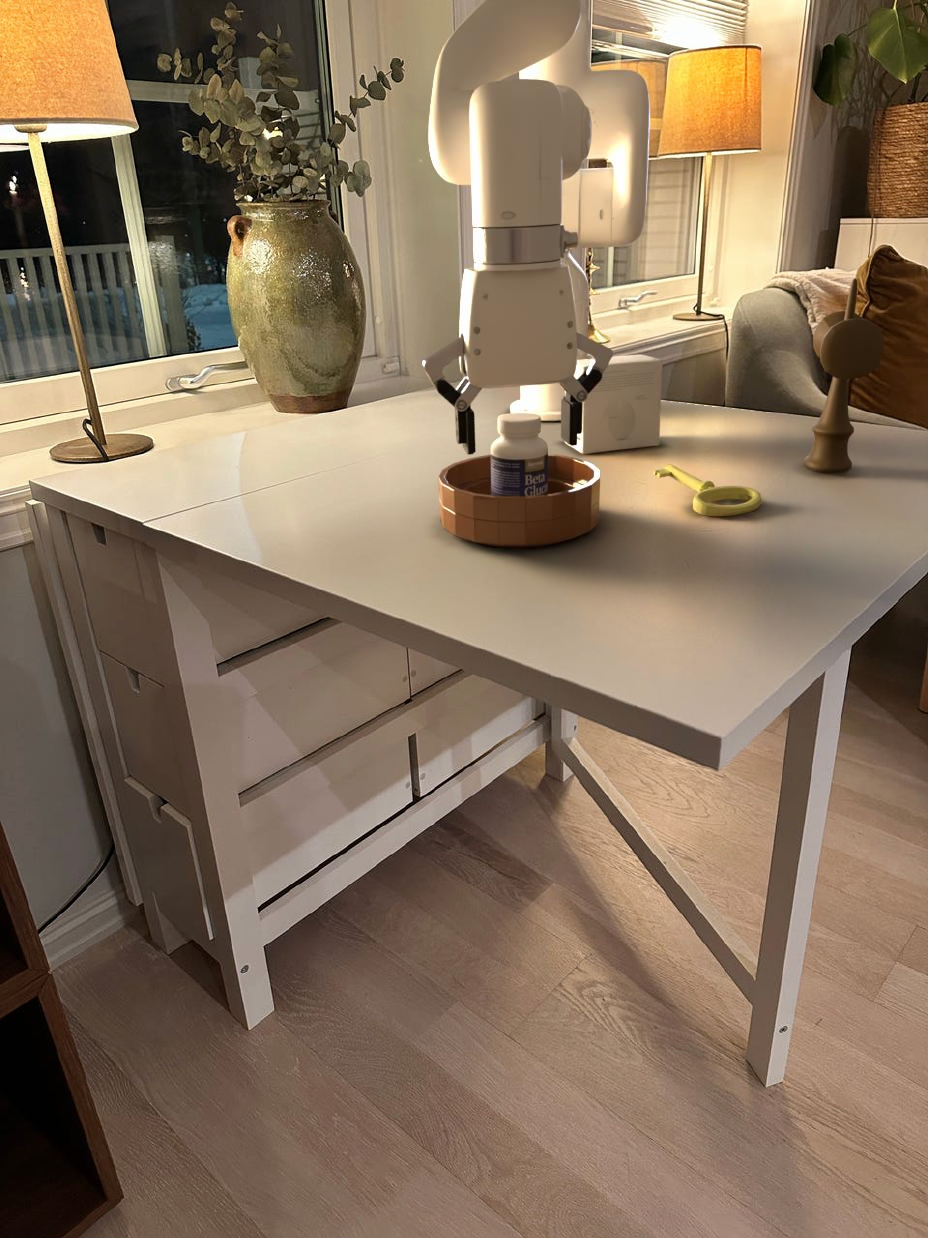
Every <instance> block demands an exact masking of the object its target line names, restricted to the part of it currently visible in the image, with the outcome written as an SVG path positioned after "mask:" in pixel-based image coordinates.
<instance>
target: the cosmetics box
mask: <svg viewBox="0 0 928 1238" xmlns="http://www.w3.org/2000/svg"><path fill="white" fill-rule="evenodd" d="M591 359H592V358H587V359H583V360H577V366H576V372H575V374H574V377H575V378H576V379H578V378H579V377H580V376H581V375H582V373H583V372H584V371H585V370H586V369H587V368H588V367H589V365H590V362H591ZM663 363H664V362H663V359H661V358H657V357H654V356H649V355H646V354H640V353H639V354H629V355H620V356H619V355H617V356H612V358H611V360H610V362H609V364H608V366H607V368H606V370H605V371H604V372H603V374H602V379H601V381H600V382H599V383H598V384H597V385H596V386H595V387H594V389H593V390H592V391H591V392H590V393H589V394H588V397H587V399H586V400H585V401H584V402H583V413H582V433H581V434H577V445H576V446H570V445H569V444H567V443H566V442H565V441H564V443H565V445H567V446H569V447H570V448H573V449H575V450H576V451H577V452H579V453H580V454H582V455H587V454H596V453H602V452H603V453H604V452H611V451H613V452H614V451H620V450H630V449H638V448H647V447H655V446H659V445H660V441H661V440H660V438H661V436H660V435H661V433H660V432H661V410H662V409H661V407H662V405H661V404H662V384H663V383H662V382H663V381H662V379H663V365H664V364H663ZM565 392H566V391H565Z"/></svg>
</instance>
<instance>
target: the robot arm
mask: <svg viewBox="0 0 928 1238" xmlns="http://www.w3.org/2000/svg"><path fill="white" fill-rule="evenodd" d="M590 43H591V24H590V21H589V18H588V15H587V13H586V11H585V8H584V7H583V5H582V0H482V2H480V3H479V4H478V5H477V6H475V8H473V10H472V11H471V12H470V13H468V15H467V16H466V17H465V18H464V19H463V20H462V22H461V23H459V24H458V26H457V27H456V28H455V29H454V31H453V32H451V34H450V36H449V37H448V38H447V40H446V41H445V43H444V45H443V46H442V49H441V51H440V53H439V56H438V59H437V61H436V65H435V70H434V76H433V83H432V90H431V91H432V92H431V99H430V107H429V118H428V148H429V154H430V158H431V162H432V165H433V167H434V169H435V171H436V173H437V174H438V175H439V176H440V177H441V179H443V180H444V181H445V182H448V183H449V184H452V185H457V186H471V215H472V241H473V242H472V244H473V245H472V246H473V267H471V266H469V267H466V268H464V272H463V276H462V284H461V293H460V306H459V308H460V309H459V337H458V338H456V339H454V340H453V341H452V342H450V343H448V344H447V345H445V346H444V347H442V348H440V349H439V350H437V351H436V352H434V353H432V354H431V355H429V356H427V357H426V358H425V359H424V360H422V364H421V366H422V368H423V370H424V371H425V374H426V375H427V377H428V378H429V380H430V382H431V384H432V385H433V387H434V389H435V390H436V391H437V392H438V394H439V395H440V396H441V397H443V398H444V400H446V401H447V402H448V403H449V404H450V405H451V406H453V408H454V422H455V423H454V425H455V439H456V443H457V444H458V445H461V446H462V449H463V450H464V451H465V454H467V455H468V456H469V455H470V456H471V455H474V453H476V452H477V451H476V421H475V420H476V419H475V418H476V417H475V416H476V415H475V411H474V410H473V409H472V407H471V405H472V403H473V402H474V400H475V399H476V398H477V396H478V395H479V393H480V392H481V391H482V389H500V388H502V389H503V388H516V387H520V399H517V400H515V401H513V402H511V404H510V405H509V410H510V412H509V413H532V414H537V415H539V416H540V417H541V422H560V438H561V439H562V440H563V441H564V443H565V442H566V443H567V444H566V443H565V444H566V445H568V444H569V445H570V446H569V445H568V446H569V447H571V446H576V445H577V434H581V433H582V413H583V402H584V401H585V400H586V399H587V397H588V394H589V393H590V392H591V391H592V390H593V389H594V387H595V386H596V385H597V384H598V383H599V382H600V381H601V379H602V374H603V372H604V371H605V370H606V368H607V366H608V364H609V362H610V360H611V358H612V357H613V355H614V352H613V349H611V348H610V347H608V346H606V345H603V344H602V343H600V342H597V341H596V340H593V339H592V338H589V308H590V307H589V306H590V285H589V280H588V278H587V277H588V276H587V275H586V273H585V271H584V270H583V269H582V267H581V266H580V264H578V262H577V261H576V260H575V258H574V257H573V255H572V254H571V253H570V252H571V251H572V250H577V249H589V248H590V249H593V248H597V249H598V248H616V247H617V248H618V247H619V248H620V247H627V246H631V245H633V244H634V243H636V242H637V241H638V240H639V239H640V238H641V236H642V234H643V231H644V226H645V223H646V222H645V221H646V213H647V198H648V177H649V175H648V174H649V156H650V155H649V152H650V133H651V132H650V131H651V101H650V93H649V92H650V91H649V88H648V84H647V82H646V80H645V78H644V77H643V76H642V74H640V73H639V72H638V71H635V70H633V69H626V68H621V69H618V68H617V69H601V70H600V69H599V70H593V69H592V68H591V64H590V52H591V51H590V50H591V49H590V46H591V44H590ZM517 73H519V78H513V79H506V78H508V77H510V76H512V75H515V74H517ZM589 159H607V160H608V161H610V163H611V165H612V166H613V167H597V168H581V167H582V166H583V164H584V162H585V160H589ZM588 355H590V357H591V358H590V359H591V362H590V365H589V367H588V368H587V369H586V370H585V371H584V372H583V373H582V375H581V376H580V377H579V378H578V379H576V378H575V377H574V374H575V372H576V366H577V360H583V359H588ZM457 359H458V360H459V369H460V373H461V375H462V376H463V378H462V379H461V382H459V384H458V385H457V387H456V388H455V386H453V385H452V384H451V383H450V382H449V381H448V380H447V378H446V376H445V374H444V368H445V367H447V366H448V365H450V364H451V363H453V362H454V361H456V360H457ZM565 391H566V392H565Z"/></svg>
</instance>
